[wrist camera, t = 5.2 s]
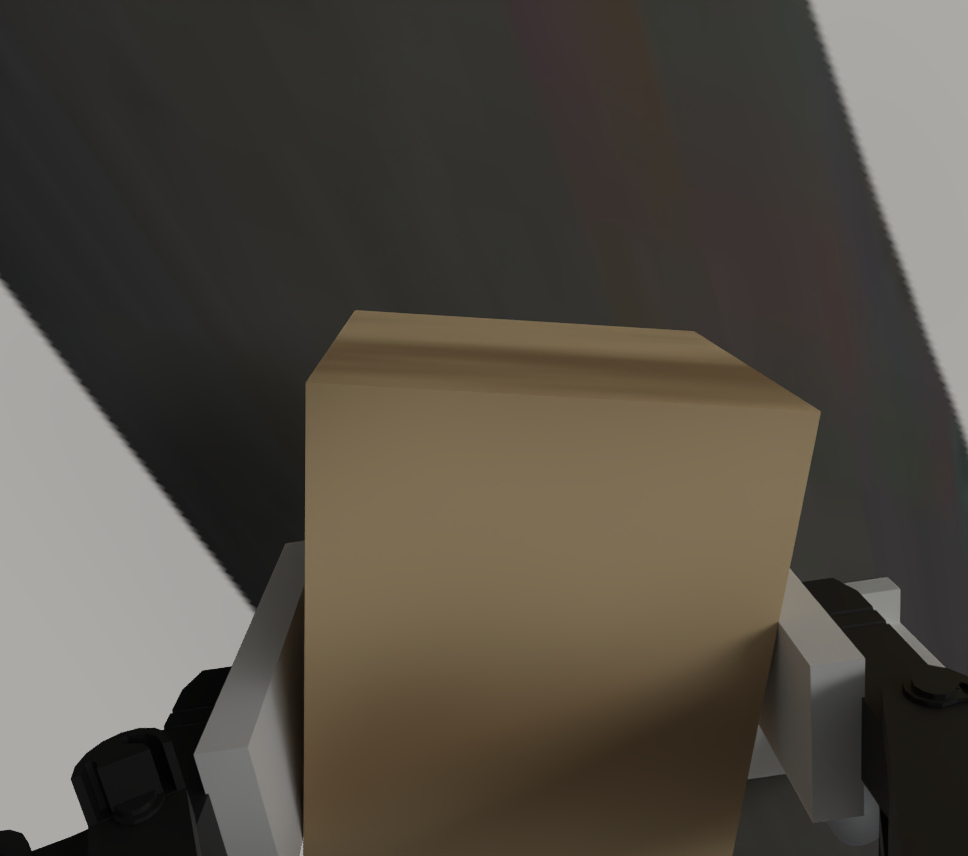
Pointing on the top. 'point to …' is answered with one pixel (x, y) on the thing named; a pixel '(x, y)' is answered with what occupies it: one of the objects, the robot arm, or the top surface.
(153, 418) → the top surface
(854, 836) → the peg stand
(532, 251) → the top surface
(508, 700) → the wooden block
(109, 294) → the top surface
